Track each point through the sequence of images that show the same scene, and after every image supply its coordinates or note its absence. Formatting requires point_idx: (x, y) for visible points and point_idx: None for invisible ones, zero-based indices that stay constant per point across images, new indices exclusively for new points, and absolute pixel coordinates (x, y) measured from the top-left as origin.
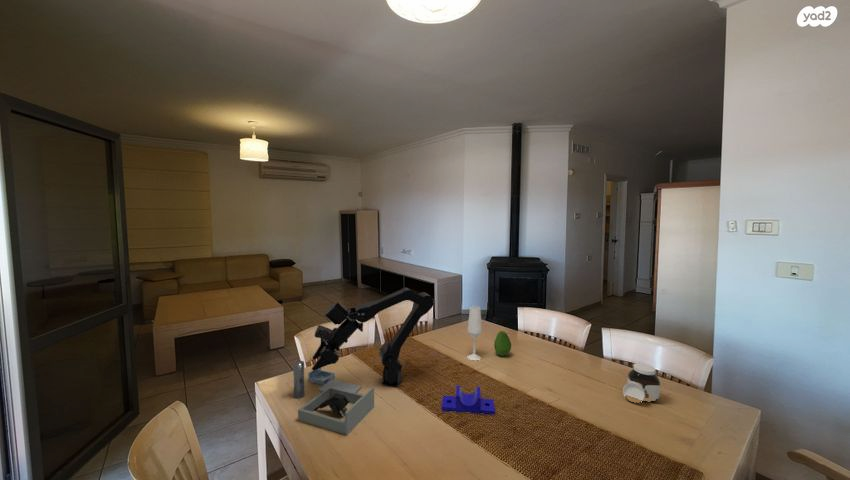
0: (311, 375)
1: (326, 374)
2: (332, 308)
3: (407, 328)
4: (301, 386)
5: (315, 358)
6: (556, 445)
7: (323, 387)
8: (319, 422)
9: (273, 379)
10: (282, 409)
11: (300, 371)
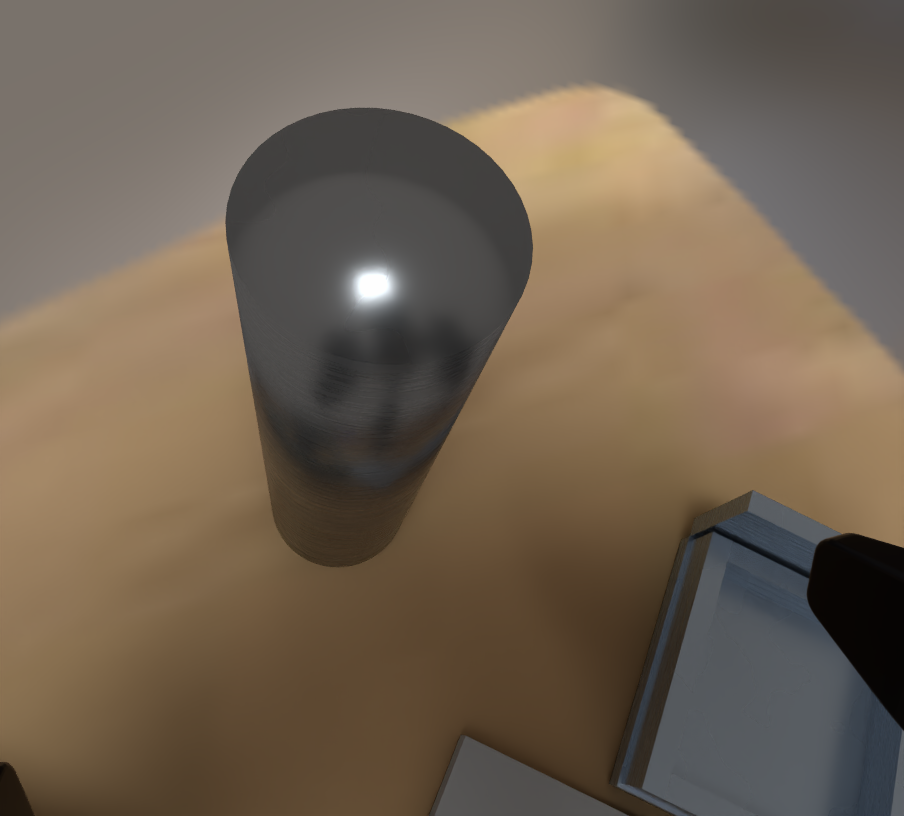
0: (756, 542)
1: (873, 745)
2: None
3: None
4: (281, 504)
5: (840, 631)
6: None
7: (513, 813)
8: None
9: (687, 153)
10: (35, 382)
11: (259, 386)
